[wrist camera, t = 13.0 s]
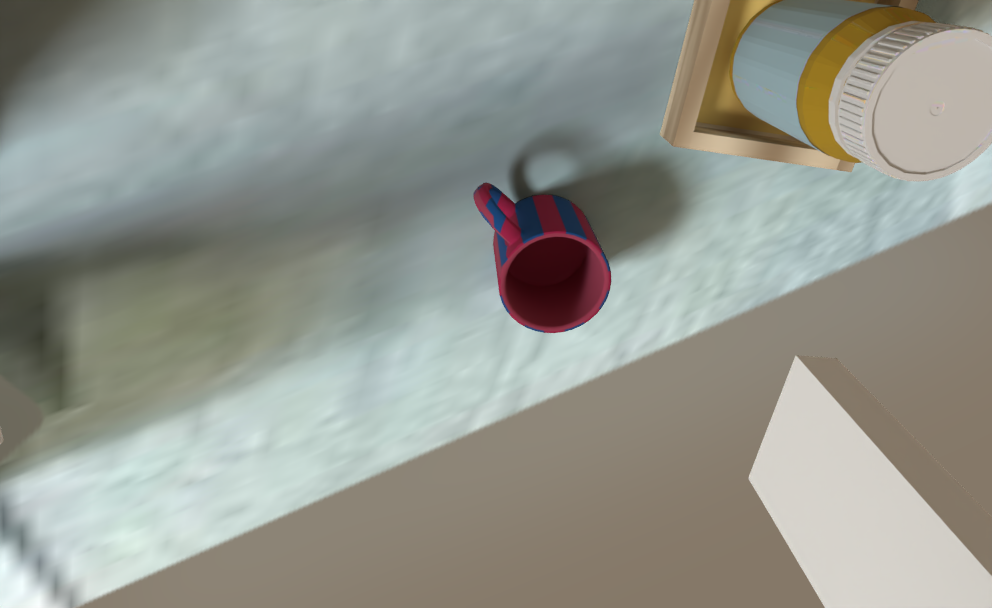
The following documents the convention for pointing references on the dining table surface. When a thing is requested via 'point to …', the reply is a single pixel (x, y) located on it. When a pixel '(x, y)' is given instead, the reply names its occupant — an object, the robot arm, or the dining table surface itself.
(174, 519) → the dining table surface
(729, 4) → the caddy
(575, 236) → the mug
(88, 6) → the dining table surface
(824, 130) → the bottle
